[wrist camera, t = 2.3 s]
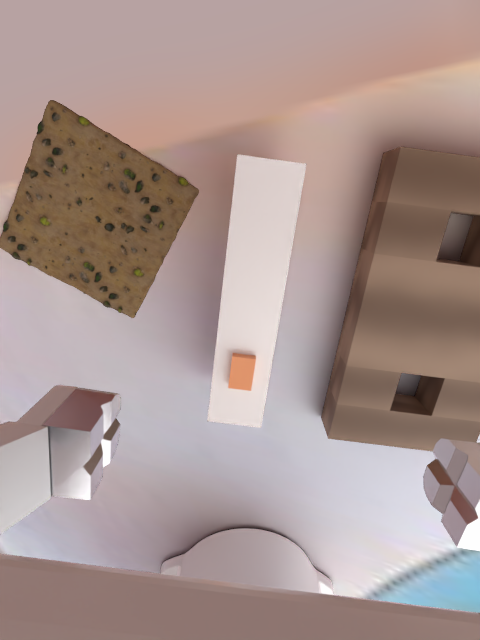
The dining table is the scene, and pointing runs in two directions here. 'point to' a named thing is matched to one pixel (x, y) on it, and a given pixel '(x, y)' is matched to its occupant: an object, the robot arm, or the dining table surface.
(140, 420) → the dining table surface
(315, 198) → the dining table surface
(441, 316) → the socket board
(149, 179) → the seeded crispbread
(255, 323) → the power strip
